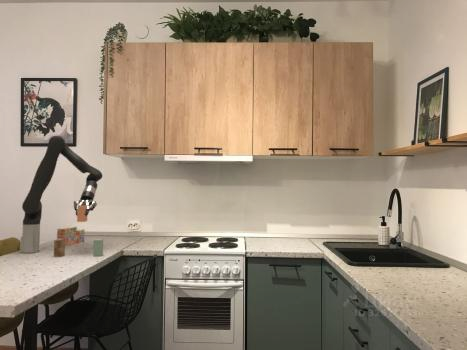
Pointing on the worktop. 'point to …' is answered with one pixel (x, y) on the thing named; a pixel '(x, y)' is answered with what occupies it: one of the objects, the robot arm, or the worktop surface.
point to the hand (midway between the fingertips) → (81, 214)
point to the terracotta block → (81, 214)
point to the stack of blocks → (70, 235)
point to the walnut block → (59, 247)
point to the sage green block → (98, 247)
